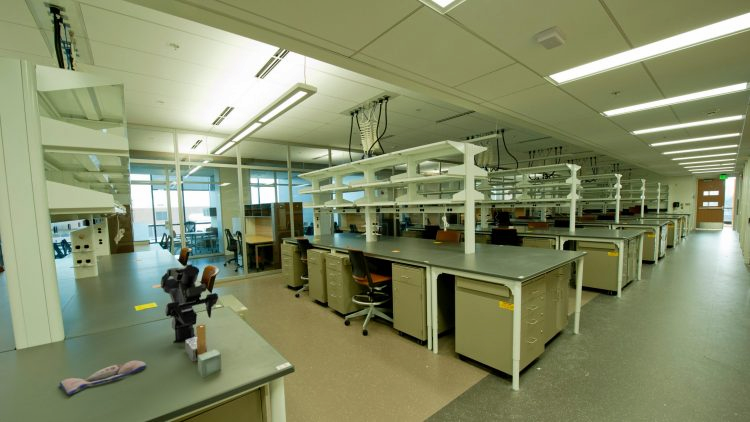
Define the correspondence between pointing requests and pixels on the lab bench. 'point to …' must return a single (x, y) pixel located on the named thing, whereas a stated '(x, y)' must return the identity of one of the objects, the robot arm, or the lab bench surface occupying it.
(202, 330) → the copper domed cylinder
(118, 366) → the anatomical model
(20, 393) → the lab bench surface
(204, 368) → the green socket
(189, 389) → the lab bench surface
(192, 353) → the aluminium sleeve
